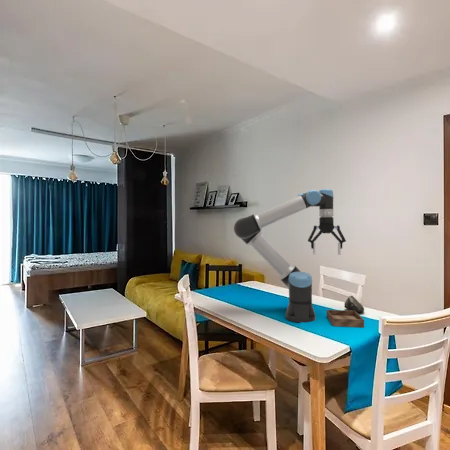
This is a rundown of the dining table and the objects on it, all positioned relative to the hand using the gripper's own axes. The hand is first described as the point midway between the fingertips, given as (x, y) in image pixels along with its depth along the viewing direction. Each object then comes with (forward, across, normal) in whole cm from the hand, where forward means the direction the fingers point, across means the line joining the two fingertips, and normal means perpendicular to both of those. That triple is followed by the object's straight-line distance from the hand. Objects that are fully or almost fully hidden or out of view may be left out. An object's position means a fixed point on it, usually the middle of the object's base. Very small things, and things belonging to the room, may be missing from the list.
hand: (326, 254), depth 167 cm
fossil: (+33, +16, 0) cm, 37 cm away
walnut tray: (+32, +5, -18) cm, 37 cm away
